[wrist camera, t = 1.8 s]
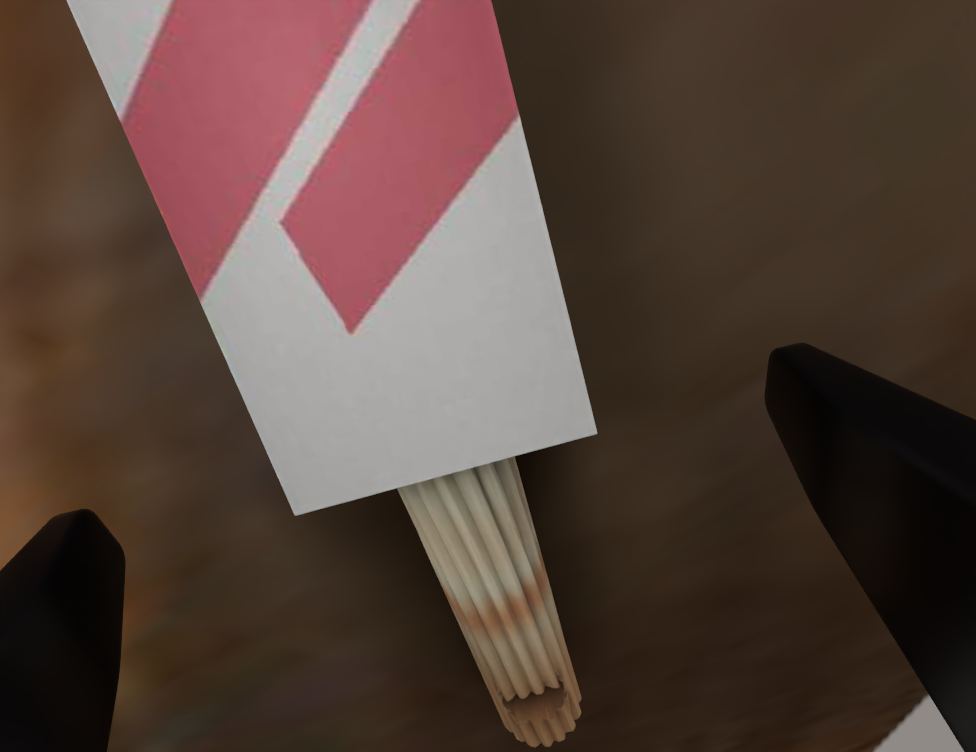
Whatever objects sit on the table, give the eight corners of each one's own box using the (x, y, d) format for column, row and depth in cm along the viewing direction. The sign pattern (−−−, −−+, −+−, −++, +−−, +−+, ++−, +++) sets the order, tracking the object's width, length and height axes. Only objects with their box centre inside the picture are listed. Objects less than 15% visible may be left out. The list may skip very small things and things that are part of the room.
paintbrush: (326, -1701, 2) (637, 748, 16) (320, -999, 4) (600, 632, 18) (-918, -1390, 2) (464, 794, 16) (-318, -836, 4) (448, 674, 18)
